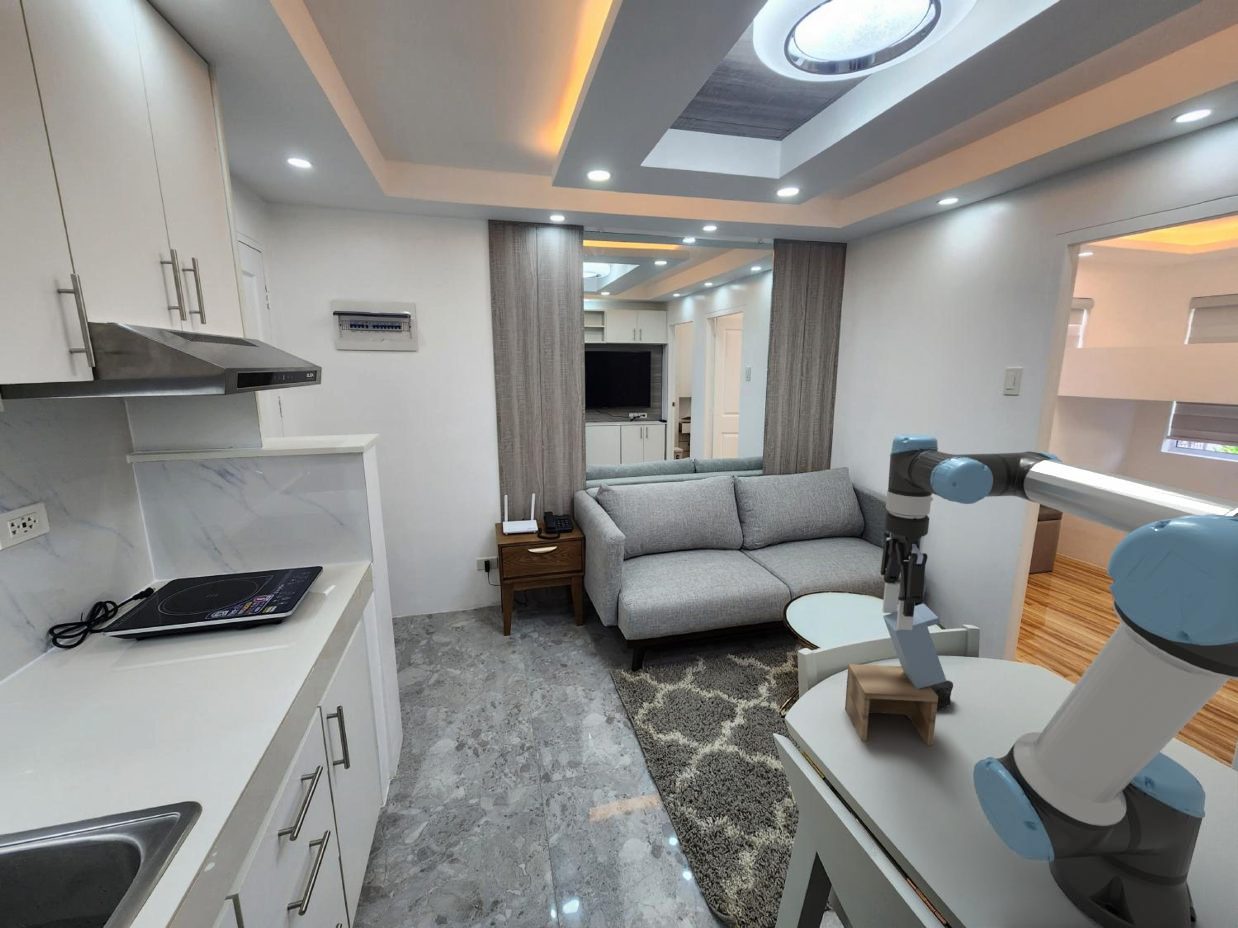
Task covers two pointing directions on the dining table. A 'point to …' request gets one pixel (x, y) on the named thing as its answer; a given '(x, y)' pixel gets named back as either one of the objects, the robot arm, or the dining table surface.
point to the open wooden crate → (888, 698)
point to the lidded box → (917, 647)
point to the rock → (943, 693)
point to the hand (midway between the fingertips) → (896, 619)
